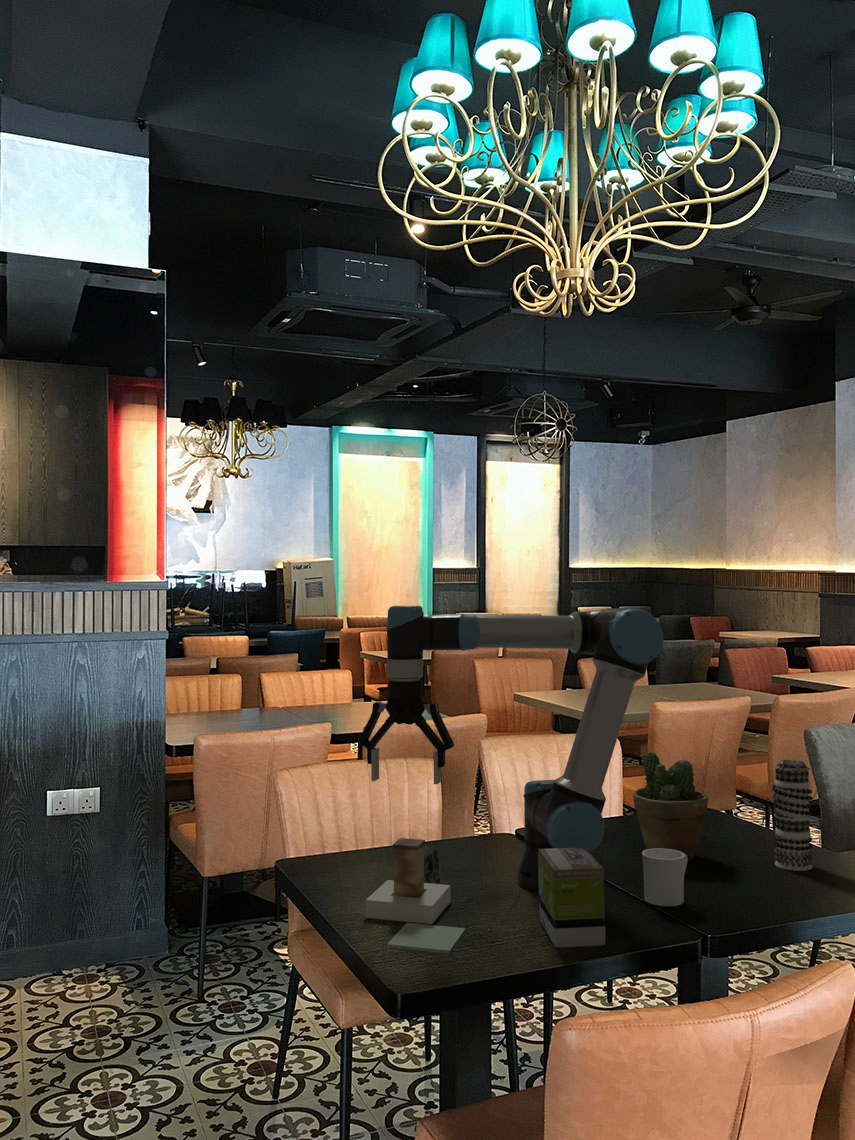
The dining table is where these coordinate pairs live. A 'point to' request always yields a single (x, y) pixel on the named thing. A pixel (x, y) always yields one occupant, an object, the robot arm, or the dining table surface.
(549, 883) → the tea box
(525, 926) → the dining table surface
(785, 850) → the decorative candle
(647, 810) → the potted plant
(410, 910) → the white square platform
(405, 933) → the mat
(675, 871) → the mug
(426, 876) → the stone
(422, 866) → the brown tall block
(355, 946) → the dining table surface
